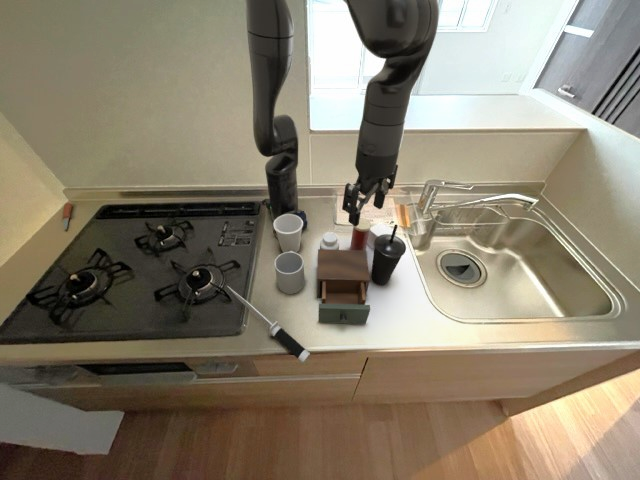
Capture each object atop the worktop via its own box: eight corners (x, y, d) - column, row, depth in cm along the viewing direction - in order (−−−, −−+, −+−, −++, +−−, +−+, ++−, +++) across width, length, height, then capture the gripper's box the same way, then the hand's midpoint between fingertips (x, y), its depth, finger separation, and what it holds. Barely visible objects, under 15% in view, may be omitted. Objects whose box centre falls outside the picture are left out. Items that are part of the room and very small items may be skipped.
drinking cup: (387, 266, 75) (405, 213, 61) (397, 287, 70) (419, 235, 55) (362, 269, 74) (374, 216, 60) (370, 291, 69) (386, 239, 54)
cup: (276, 294, 67) (272, 273, 61) (280, 264, 74) (277, 243, 68) (303, 295, 67) (302, 274, 61) (305, 265, 74) (304, 244, 68)
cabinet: (364, 299, 67) (370, 280, 61) (316, 298, 67) (317, 278, 61) (361, 270, 74) (365, 250, 67) (317, 269, 74) (318, 249, 67)
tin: (347, 256, 77) (352, 227, 69) (350, 245, 80) (355, 216, 72) (363, 260, 76) (369, 231, 68) (365, 248, 80) (372, 219, 71)
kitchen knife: (73, 204, 92) (66, 206, 91) (70, 201, 91) (63, 203, 90) (70, 230, 82) (63, 232, 82) (67, 227, 81) (60, 229, 81)
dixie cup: (307, 240, 81) (306, 216, 74) (298, 260, 76) (297, 236, 68) (282, 235, 83) (279, 211, 76) (272, 254, 77) (268, 229, 70)
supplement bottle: (336, 268, 74) (338, 245, 67) (317, 265, 75) (318, 242, 68) (338, 254, 78) (341, 231, 71) (321, 251, 78) (322, 228, 71)
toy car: (271, 221, 78) (281, 233, 76) (303, 207, 84) (313, 217, 81) (272, 234, 83) (281, 245, 80) (302, 219, 88) (312, 229, 86)
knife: (308, 357, 58) (311, 349, 54) (301, 366, 56) (304, 359, 52) (232, 288, 66) (230, 277, 62) (224, 295, 64) (221, 284, 61)
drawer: (366, 328, 60) (371, 314, 55) (318, 327, 60) (318, 313, 55) (362, 293, 67) (366, 278, 62) (319, 292, 67) (319, 276, 62)
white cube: (365, 242, 82) (368, 228, 78) (378, 235, 84) (382, 221, 80) (378, 253, 78) (382, 240, 74) (392, 246, 81) (396, 232, 76)
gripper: (385, 127, 51) (372, 195, 62) (336, 149, 44) (331, 221, 55) (418, 139, 47) (398, 209, 59) (370, 165, 40) (358, 239, 52)
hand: (365, 215), depth 57 cm, fingers open, 8 cm apart
